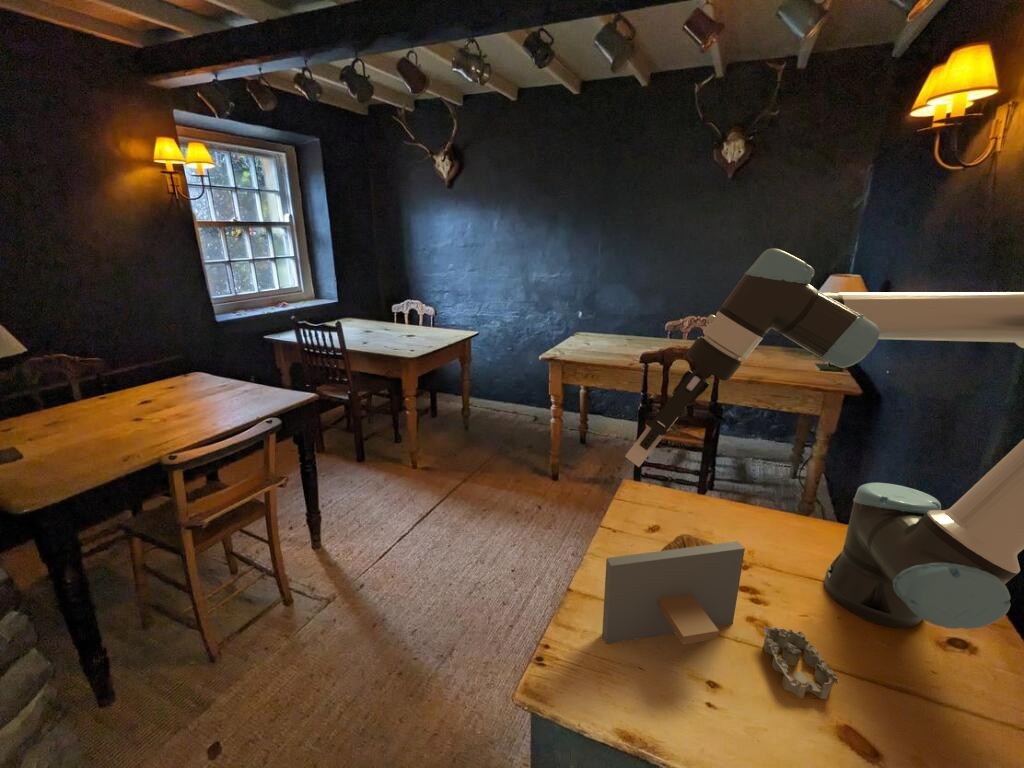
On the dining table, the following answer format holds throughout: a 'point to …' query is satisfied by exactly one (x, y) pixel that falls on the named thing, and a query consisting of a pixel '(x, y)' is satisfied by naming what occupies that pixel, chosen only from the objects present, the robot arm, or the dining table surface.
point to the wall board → (672, 593)
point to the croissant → (685, 542)
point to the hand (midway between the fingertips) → (642, 450)
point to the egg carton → (791, 656)
